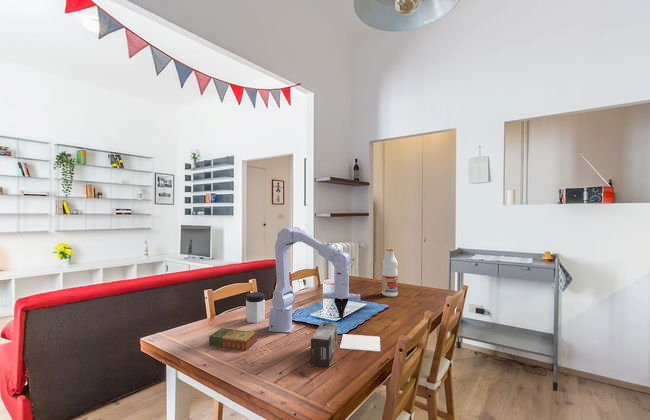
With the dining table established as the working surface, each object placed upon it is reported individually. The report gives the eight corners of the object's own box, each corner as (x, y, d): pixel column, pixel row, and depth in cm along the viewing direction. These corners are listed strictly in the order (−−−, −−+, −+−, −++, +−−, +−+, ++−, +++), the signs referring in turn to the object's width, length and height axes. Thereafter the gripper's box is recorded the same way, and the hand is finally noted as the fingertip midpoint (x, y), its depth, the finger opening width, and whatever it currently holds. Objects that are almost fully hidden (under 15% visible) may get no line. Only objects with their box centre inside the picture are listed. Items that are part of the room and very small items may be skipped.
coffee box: (337, 346, 120) (329, 368, 104) (321, 344, 121) (310, 365, 105) (337, 322, 119) (329, 340, 104) (321, 321, 121) (310, 338, 105)
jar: (244, 317, 149) (244, 292, 149) (261, 315, 152) (262, 291, 152) (247, 324, 141) (247, 297, 141) (265, 322, 144) (266, 295, 144)
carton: (246, 352, 115) (246, 340, 115) (208, 346, 120) (208, 335, 119) (257, 342, 123) (257, 331, 123) (221, 337, 128) (221, 327, 127)
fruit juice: (389, 291, 197) (389, 247, 197) (400, 295, 190) (401, 248, 189) (378, 294, 192) (379, 248, 192) (390, 297, 184) (390, 250, 184)
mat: (339, 348, 118) (339, 347, 118) (343, 334, 131) (343, 334, 131) (380, 351, 115) (380, 351, 115) (379, 337, 128) (379, 336, 128)
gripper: (321, 284, 121) (321, 319, 121) (359, 286, 119) (359, 322, 119) (324, 280, 128) (324, 313, 128) (360, 282, 126) (360, 315, 126)
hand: (341, 317), depth 124 cm, fingers closed
